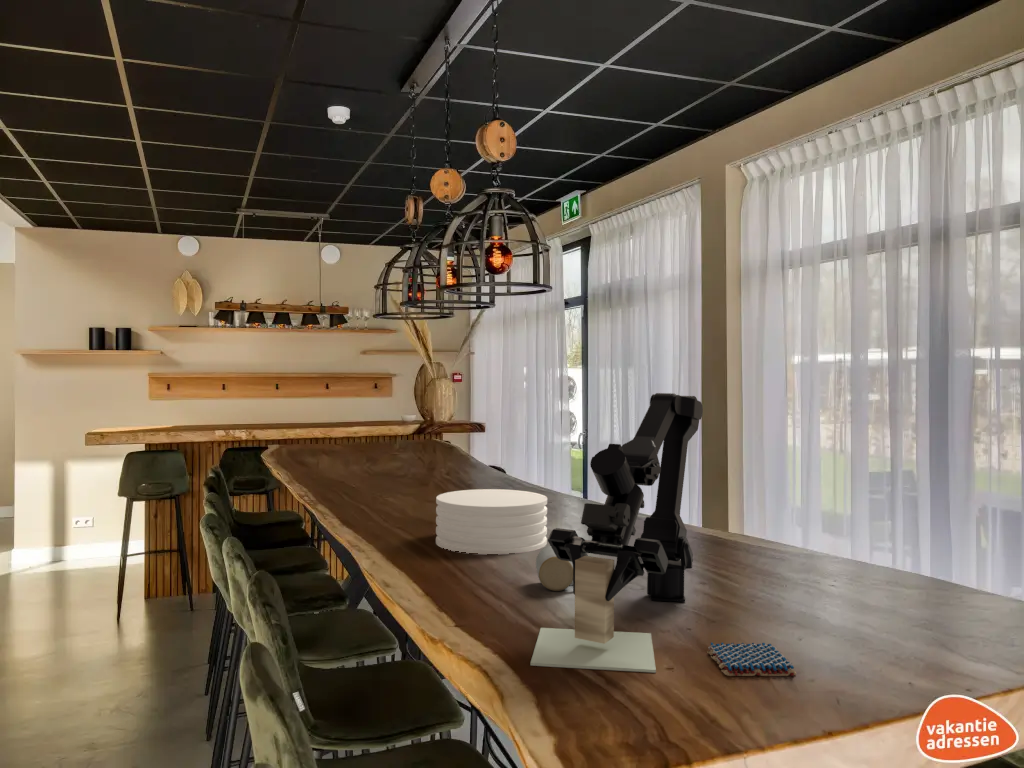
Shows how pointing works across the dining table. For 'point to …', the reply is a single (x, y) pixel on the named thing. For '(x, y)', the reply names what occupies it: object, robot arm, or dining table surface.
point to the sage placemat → (594, 651)
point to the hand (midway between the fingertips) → (590, 596)
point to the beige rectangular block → (593, 599)
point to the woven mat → (750, 660)
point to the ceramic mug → (553, 570)
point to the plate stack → (491, 521)
